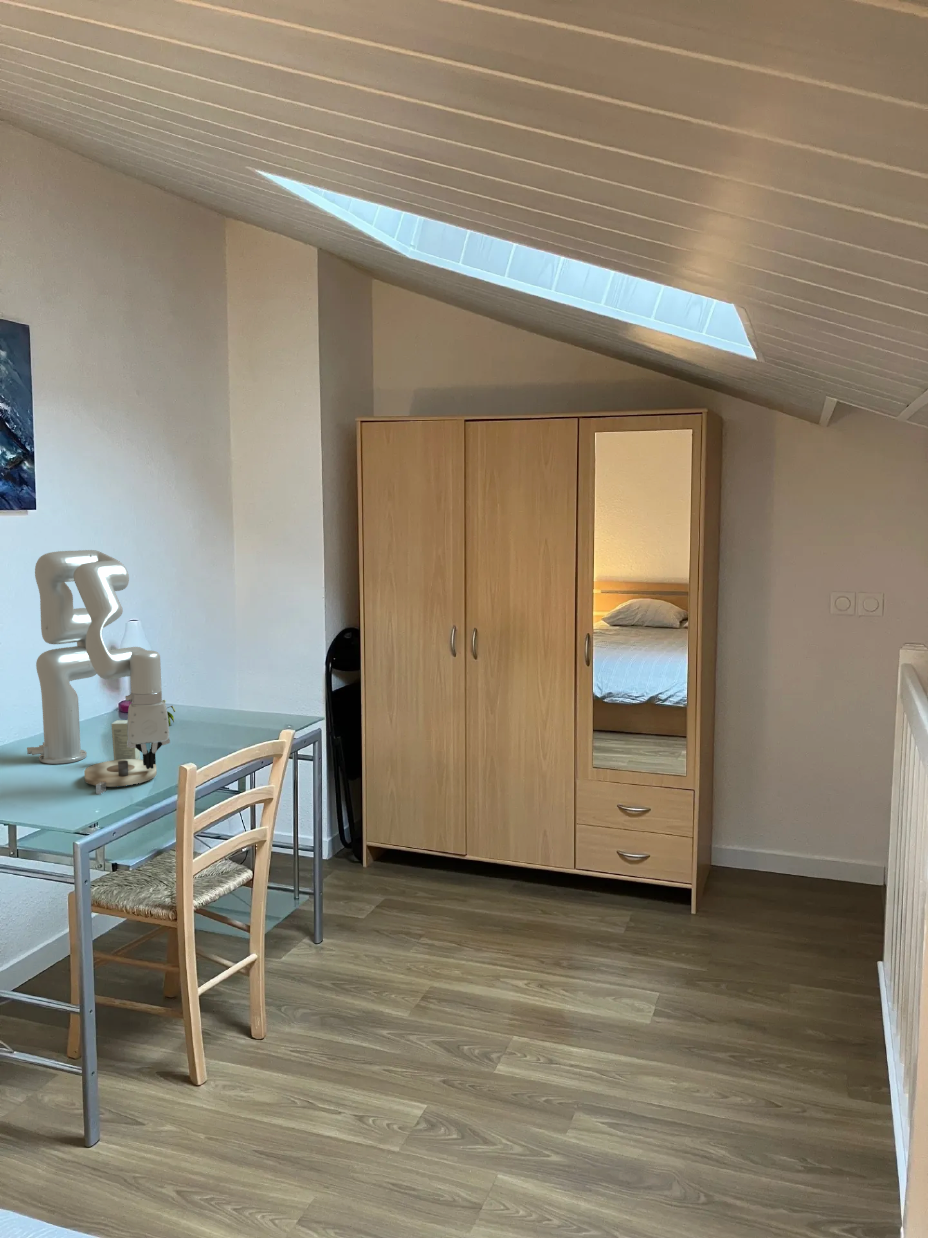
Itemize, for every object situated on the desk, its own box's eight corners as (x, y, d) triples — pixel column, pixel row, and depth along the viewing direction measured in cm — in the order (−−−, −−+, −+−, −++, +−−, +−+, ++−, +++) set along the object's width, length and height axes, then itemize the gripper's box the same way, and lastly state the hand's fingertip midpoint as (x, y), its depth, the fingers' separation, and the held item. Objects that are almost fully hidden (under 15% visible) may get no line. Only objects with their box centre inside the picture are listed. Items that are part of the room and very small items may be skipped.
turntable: (87, 790, 249) (86, 767, 248) (82, 771, 265) (81, 750, 264) (160, 781, 256) (160, 760, 255) (151, 764, 272) (151, 743, 272)
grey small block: (102, 790, 251) (102, 781, 251) (107, 790, 251) (106, 781, 251) (96, 794, 248) (95, 785, 248) (100, 794, 248) (100, 785, 247)
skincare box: (140, 761, 278) (139, 719, 276) (136, 766, 273) (134, 723, 272) (117, 761, 277) (116, 719, 276) (112, 766, 273) (111, 723, 272)
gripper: (117, 703, 248) (120, 774, 250) (178, 698, 254) (181, 767, 257) (114, 698, 255) (118, 767, 257) (174, 693, 261) (176, 760, 263)
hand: (149, 767), depth 257 cm, fingers closed
